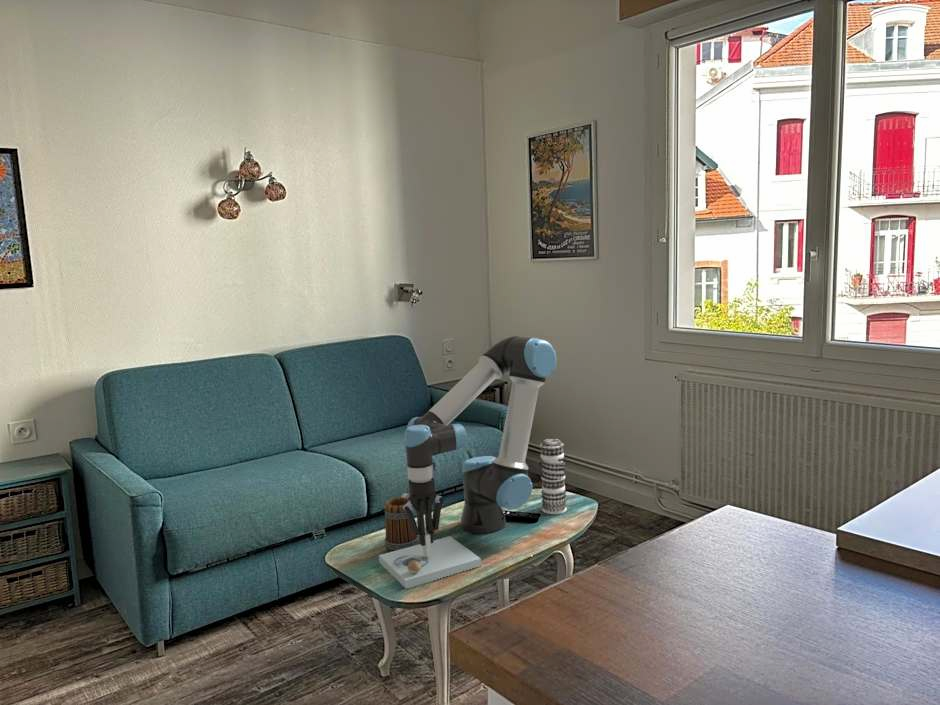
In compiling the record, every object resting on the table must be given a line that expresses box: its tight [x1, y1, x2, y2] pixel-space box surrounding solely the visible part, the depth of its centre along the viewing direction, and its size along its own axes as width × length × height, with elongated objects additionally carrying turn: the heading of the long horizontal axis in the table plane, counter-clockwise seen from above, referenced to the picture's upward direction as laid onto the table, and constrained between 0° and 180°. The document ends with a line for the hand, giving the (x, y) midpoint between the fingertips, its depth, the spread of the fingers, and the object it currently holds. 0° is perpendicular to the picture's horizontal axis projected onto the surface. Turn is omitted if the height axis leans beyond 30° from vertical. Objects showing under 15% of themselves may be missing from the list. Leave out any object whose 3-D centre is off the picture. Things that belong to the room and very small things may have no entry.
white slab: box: [378, 535, 482, 590], centre depth 215 cm, size 24×20×2 cm
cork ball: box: [408, 560, 420, 574], centre depth 204 cm, size 4×4×4 cm
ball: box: [406, 558, 417, 566], centre depth 212 cm, size 4×4×4 cm
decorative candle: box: [538, 438, 568, 515], centre depth 251 cm, size 9×9×25 cm
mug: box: [384, 493, 419, 552], centre depth 230 cm, size 16×11×15 cm
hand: (427, 554), depth 214 cm, fingers closed
